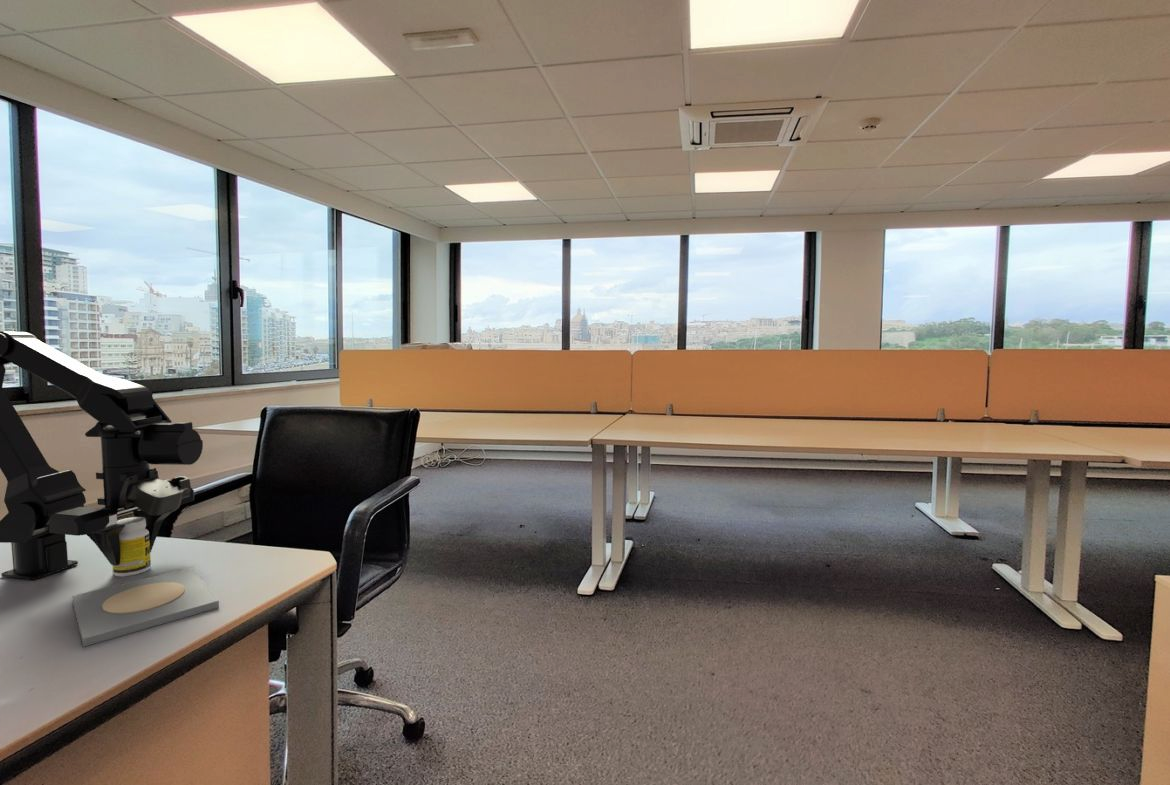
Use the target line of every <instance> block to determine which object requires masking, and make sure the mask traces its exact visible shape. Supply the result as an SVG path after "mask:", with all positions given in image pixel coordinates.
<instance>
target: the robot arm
mask: <svg viewBox="0 0 1170 785" xmlns="http://www.w3.org/2000/svg"><path fill="white" fill-rule="evenodd" d="M9 364H12V365H13V364H14V365H15V366H17V367H19V368H21V369H22V370H24V371H26V372H28V373H30V374H32V375H34V376H36V377H38V378H40V380H43V381H45V382H47V383H48V384H50V385H53V386H54V387H56V388H58V389H59V390H61V391H64V392H65V393H68V394H69V395H70V396H71V397H73V398H74V399H75V400H76V402H77V404H78V407H79V408H80V409H81V410H82V411H84V412H85V413H87V415H89V416H90V417H92V418H93V419H94V420H95V421H96V424H95V425H94V426H93V427H91V428H90V429H89V430H87V431H86V432H85V434H84V436H85V437H87V438H100V448H101V461H102V462H101V466H102V468H101V469H102V470H101V471H96V472H95V479H96V480H102V486H103V496H101V497H98V498H97V499H96V500H97V505H99V506H104V507H101V508H100V507H99V508H96V507H95V508H94V507H86V506H85V504H87V502H86V496H85V494H84V492H86V489H85V487H83V485H81V484H80V482H79V480H78V478H77V475H76V473H75V472H74V471H73V470H71V469H68V470H63V471H59V470H58V469H55V468H53V467H51V466H50V465H49V463H48V461H47V460H46V458H45V456H44V455H43V453H42V452H41V450H40V448H39V446H38V445H37V443H36V441H35V439H33V437H32V435H31V433H30V432H29V430H28V428H27V426H26V424H25V423H24V422H23V420H22V418H21V417H20V415H19V413H18V411H17V410H16V408H15V407H14V404H13V403H12V402H11V400H10V399H9V397H8V395H7V394H6V392H5V390H4V387H3V385H4V381H5V375H6V367H5V365H9ZM153 396H154V394H153V392H152V391H151V390H150V388H148V387H146V386H144V385H142V384H139V383H136V382H133V381H130V380H127V379H124V378H119V377H115V376H110V375H105V374H103V373H101V372H98V371H97V370H95V369H93V368H91V367H90V366H88V365H85V364H83V363H82V362H79V361H78V360H76V359H74V358H73V357H70V356H69V355H67V354H65V353H63V352H62V351H60V350H58V349H56V348H54V347H52V346H50V345H48V344H47V343H45V342H42V341H41V340H40V339H38V337H37V336H35V335H34V334H32V333H30V332H27V331H9V330H8V331H0V471H1V472H2V473H3V474H2V475H4V477H5V478H6V482H7V483H6V489H5V492H4V500H3V503H4V504H5V507H6V509H7V511H8V512H7V514H6V515H4V516H3V518H2V519H1V520H0V543H3V544H4V543H6V544H8V543H9V544H11V545H10V546H11V552H12V553H11V555H12V556H11V558H12V569H10V570H6V571H3V572H1V573H0V574H1V577H3V578H4V577H5V578H13V579H22V580H29V581H30V580H31V581H33V580H37V579H39V578H43V577H45V576H49V575H51V574H53V573H56V572H60V571H62V570H65V569H68V568H70V567H74V566H76V565H79V561H78V560H72V559H69V557H68V542H67V540H66V535H68V536H76V537H77V536H78V537H79V536H87V537H89V539H90V541H92V542H93V543H94V544H95V545H96V547H97V548H98V549H99V551H100V552H101V553H102V555H103V557H105V558H106V559H107V560H106V561H108V563H109V564H110V565H111V566H113V565H114V566H117V565H119V563H120V541H119V533H120V532H121V531H122V529H123V528H124V527H125V525H124V524H117V521H118V517H119V516H122V515H126V514H129V513H132V512H133V517H144V518H145V519H146V527H145V529H147V530H148V531H149V540H150V553H151V552H152V549H153V547H154V545H155V542H156V539H157V537H158V534H159V532H160V528H161V526H162V524H163V522H164V520H165V519H166V518H167V517H168V516H169V515H171V513H173V512H175V511H177V510H178V509H179V508H180V506H182V505H184V504H188V503H191V502H195V491H194V489H193V488H192V485H191V480H190V477H187V476H185V475H180V476H175V477H173V478H171V479H169V478H168V479H165V480H163V479H161V478H160V477H159V472H158V470H157V468H156V467H150V466H151V465H173V466H175V465H176V466H178V465H179V466H181V465H182V466H183V465H184V466H185V465H186V466H191V465H194V464H196V462H197V461H198V460H199V459H200V457H201V455H202V453H203V446H204V442H203V439H201V436H200V434H199V432H198V431H197V430H195V429H193V425H194V424H193V422H192V421H182V422H181V421H180V422H172V419H170V417H169V416H168V415H167V413H165V411H164V410H163V409H162V407H161V406H159V404H158V403H157V401H155V399H154V397H153ZM84 506H85V507H84Z"/></svg>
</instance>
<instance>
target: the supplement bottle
mask: <svg viewBox="0 0 1170 785" xmlns="http://www.w3.org/2000/svg"><path fill="white" fill-rule="evenodd" d="M117 524H124V525H125V527H124V528H123V529H122V531H121V532H120V533H119V541H120V563H119V565H117V566H114V565H112V574H113V576H114V577H115V576H116V577H119V578H121V577H122V578H123V577H131V576H134V575H138V574H141V573H144V572H146V571H148V570H149V569H151V566H152V565H151V564H152V561H151V552H150V540H149V531H148V530H147V529H145V527H146V519H145V518H144V517H134V516H132V517H126V518H121V519H119V520H118V519H117Z"/></svg>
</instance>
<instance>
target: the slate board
mask: <svg viewBox="0 0 1170 785" xmlns="http://www.w3.org/2000/svg"><path fill="white" fill-rule="evenodd" d="M219 601H220V600H219V599H218V598H217V597H216V595H215V594H214V593H213V592H212V591H211V589H210V588H209V587H208V585H207V584H206V583H205V581H204V580H203V579H202V577H200V575H199V574H198V573H197V571H196V570H195V569H194V568H193V567H188V568H183V569H180V570H175V571H172V572H168V573H164V574H163V573H162V574H159V575H155V576H150V577H147V578H142V579H137V580H134V581H129V582H125V583H121V584H115V585H113V586H108V587H105V588H99V589H95V590H92V591H91V590H90V591H87V592H83V593H78V594H74V595H72V604H73V609H74V614H75V618H76V622H77V626H78V630H79V634H80V638H81V642H82V647H83V648H84V647H86V646H90V645H94V644H97V643H101V642H104V641H105V642H106V641H109V640H112V639H114V638H115V639H116V638H119V637H121V636H125V635H129V634H132V633H135V632H139V631H142V630H143V631H144V630H145V629H150V628H152V627H156V626H160V625H163V624H166V623H170V622H173V621H177V620H181V619H184V618H187V617H188V618H189V617H190V616H194V615H197V614H201V613H204V612H208V611H211V610H216V609H218V608H220V602H219Z"/></svg>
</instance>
